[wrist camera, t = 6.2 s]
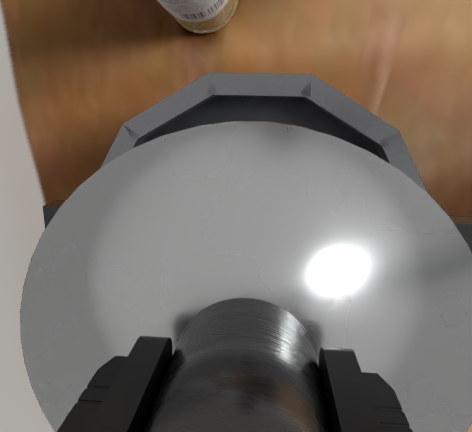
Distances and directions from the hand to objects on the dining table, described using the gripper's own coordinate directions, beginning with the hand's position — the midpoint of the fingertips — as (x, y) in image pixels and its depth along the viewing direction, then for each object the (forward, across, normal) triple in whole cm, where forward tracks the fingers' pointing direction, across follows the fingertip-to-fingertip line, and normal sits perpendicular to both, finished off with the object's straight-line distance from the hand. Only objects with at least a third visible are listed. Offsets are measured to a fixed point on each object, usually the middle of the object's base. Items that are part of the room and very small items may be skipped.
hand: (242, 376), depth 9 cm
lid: (+2, 0, 0) cm, 2 cm away
